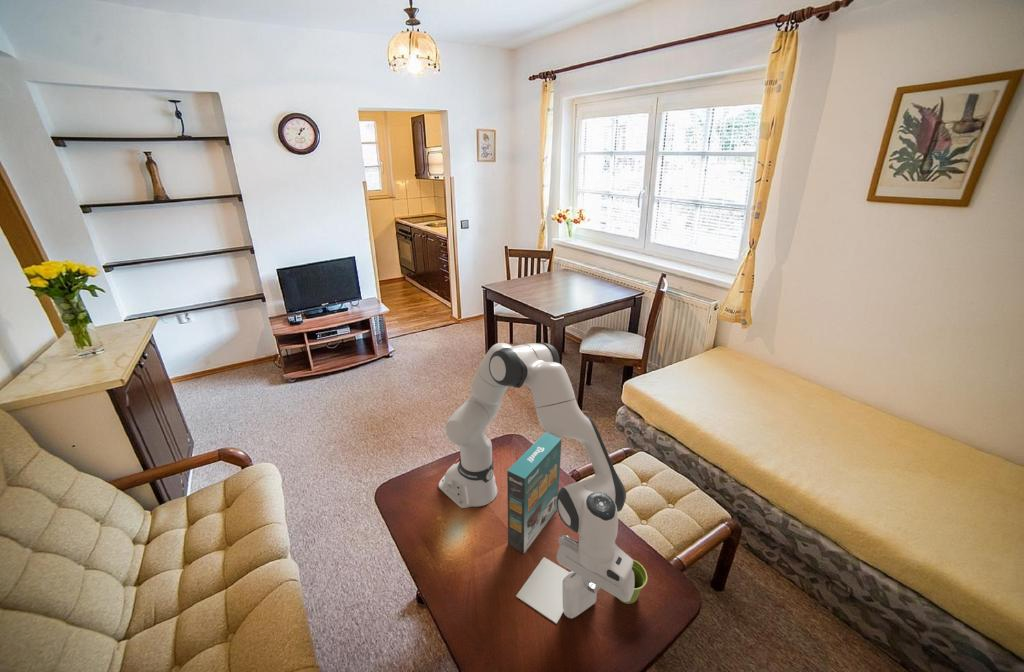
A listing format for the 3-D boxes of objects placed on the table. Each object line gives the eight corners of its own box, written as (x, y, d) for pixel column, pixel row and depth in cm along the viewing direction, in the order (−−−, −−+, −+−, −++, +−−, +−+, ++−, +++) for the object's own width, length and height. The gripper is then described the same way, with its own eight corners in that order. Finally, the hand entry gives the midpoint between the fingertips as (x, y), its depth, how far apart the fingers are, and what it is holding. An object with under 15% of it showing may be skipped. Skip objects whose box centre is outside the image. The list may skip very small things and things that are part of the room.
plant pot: (637, 617, 112) (641, 595, 108) (604, 599, 116) (607, 578, 113) (647, 589, 119) (651, 568, 116) (615, 573, 124) (618, 552, 120)
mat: (516, 596, 117) (516, 595, 117) (543, 557, 128) (543, 556, 128) (556, 624, 110) (556, 623, 110) (582, 580, 121) (582, 579, 121)
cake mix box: (542, 501, 149) (545, 432, 137) (557, 508, 146) (561, 438, 134) (507, 544, 133) (507, 470, 121) (523, 553, 130) (524, 478, 118)
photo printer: (588, 591, 118) (588, 555, 115) (599, 601, 115) (599, 565, 111) (560, 610, 113) (559, 573, 110) (570, 622, 110) (570, 585, 106)
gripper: (553, 540, 106) (551, 577, 112) (630, 583, 96) (624, 622, 101) (565, 524, 111) (562, 560, 117) (640, 563, 100) (633, 601, 106)
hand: (591, 589), depth 109 cm, fingers closed
